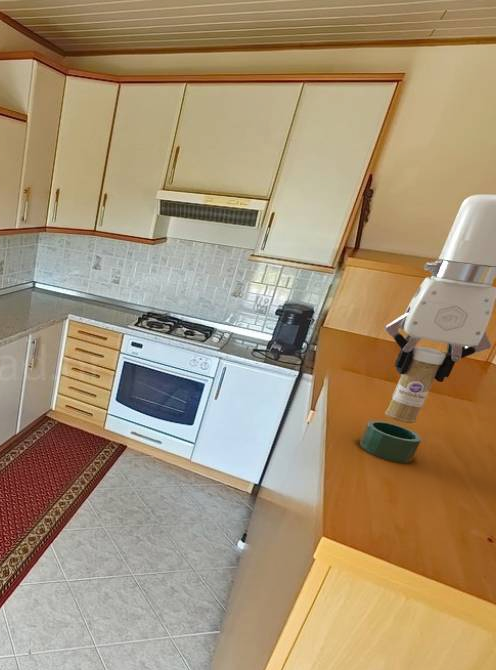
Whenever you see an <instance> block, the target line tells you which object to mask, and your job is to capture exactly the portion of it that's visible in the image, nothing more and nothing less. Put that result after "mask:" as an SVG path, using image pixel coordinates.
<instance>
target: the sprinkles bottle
mask: <svg viewBox="0 0 496 670" xmlns="http://www.w3.org/2000/svg"><path fill="white" fill-rule="evenodd" d="M412 354H413V357H412V360H411V362H410V364H409V367H408V369H407V371H406V373H405V374H400V377H399V380H398V382H397V384H396V387H395V389H394V392H393V394H392V396H391V400H390V403H389V405H388V408H387V409H386V410H385V412H384V414H385V416H386V417H388V418H389V419H392V420H394V421H397V422H400V423H404V424H414V423H415V422H416V421H417V417H418V416H419V413H420V411H421V408H422V407H423V405H424V403H425V401H426V398H427V397H428V395H429V392H430V390H431V388H432V386H433V383H434V381H435V375H436V373H437V371H438V369H439V367H440V366H441V364H442V363H443V361H444V359H445V356H446V355H445V354H446V353H444V352H442V351H439V350H437V349H433V348H429V347H423V346H415V347H414V348H413V350H412Z"/></svg>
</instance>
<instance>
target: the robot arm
mask: <svg viewBox="0 0 496 670" xmlns="http://www.w3.org/2000/svg"><path fill="white" fill-rule="evenodd" d="M423 271H427V272H430V275H431V277H429V276H428V277H425V278H424V280H423V281H422V283H421V284H420V285H419V287H418V288H417V290H416V291H415V293H414V295H413V297H412V298H411V300H410V302H409V304H408V306H407V308H406V310H405V312H404V314H403V315H401V316H399V317H398V318H396V319H395V320H393V321H391V322H390V323H388V324H387V325H385V326H384V328H383V329H384V331H386V332H387V334H388V335H390V337H392V339H394V341H395V342H396V344H397V346H398V347H399V348H400V351H399V352H398V355H397V358H396V359H395V363H394V368H396V371H397V372H398V374H399V375H402V374H405V373H406V371H407V369H408V367H409V364H410V362H411V360H412V357H413V354H412V350H413V348H414V347H416V346H417V344H418V343H419V342H420V340H426V341H434V342H438V343H443V344H446V353H444V354H445V355H446V356H445V359H444V361H443V363H442V364H441V366H440V367H439V369H438V371H437V373H436V375H435V378H434V380H436V381H437V382H439V383H443V382H444V380H445V379H446V378H449V376H450V375H451V372H452V370H453V368H454V366H455V364H456V362H459V361H461V360H462V359H464V358H466V357H469V356H471V355H473V354H475V353H479V352H484V351H486V350H489V349H491V348H492V343H491V341H490V339H489V336H487V332H486V330H487V328H488V324H489V322H490V319H491V315H492V313H493V311H494V306H495V303H496V286H492V284H493V283H494V281H495V278H496V194H482V193H481V194H473V195H470V196H467V197H466V198H465V199H464V200H463V202H462V203H461V205H460V206H459V210H458V212H457V214H456V217H455V219H454V221H453V224H452V226H451V229H450V231H449V233H448V236H447V238H446V240H445V243H444V245H443V248H442V250H441V252H440V254H439V257H438V258H437V259H436V261H434V262H433V261H432V262H430V261H429V262H425V263H424V267H423ZM399 329H401V330H402V331H404V332H405V334H407V335H406V336H405V337H404V336H403V335H402V334H401V332H399Z"/></svg>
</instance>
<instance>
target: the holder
mask: <svg viewBox="0 0 496 670" xmlns="http://www.w3.org/2000/svg"><path fill="white" fill-rule="evenodd" d="M422 440H423V439H422V437H421V435H420V434H418V433H416V432H415V431H414V430H411V429H410V428H407V427H405V426H402V425H400V424H396V423H393V422H389V421H388V422H387V421H383V420H369V421H368V422H367V423H366V426H365V429H364V431H363V433H362V435H361V438H360V440H359V446H360V447H361V448H362V449H363V450H364V451H366V452H367V453H369V454H372V455H374V456H376V457H378V458H381V459H384V460H387V461H391V462H394V463H401V464H406V463H411V462H412V461H413V459H414V457H415V455H416V453H417V450H418V449H419V447H420V444H421V442H422Z"/></svg>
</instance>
